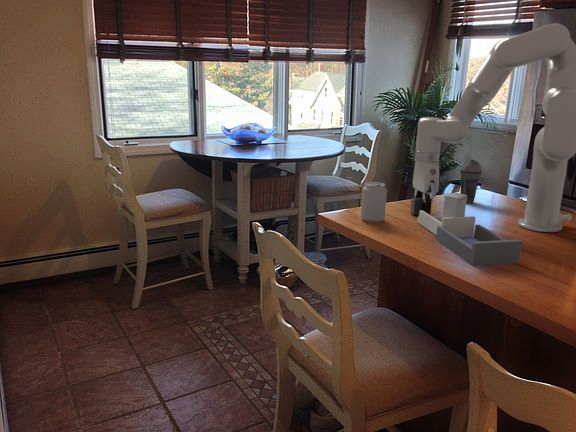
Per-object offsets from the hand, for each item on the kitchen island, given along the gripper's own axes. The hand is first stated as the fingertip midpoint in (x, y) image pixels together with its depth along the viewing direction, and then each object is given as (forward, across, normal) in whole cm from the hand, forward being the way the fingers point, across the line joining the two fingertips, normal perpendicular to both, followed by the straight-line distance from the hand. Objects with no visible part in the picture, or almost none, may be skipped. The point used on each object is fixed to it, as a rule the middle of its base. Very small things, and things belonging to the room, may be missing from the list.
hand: (421, 210), depth 175 cm
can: (+2, -2, +18) cm, 18 cm away
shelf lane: (+2, -34, 0) cm, 34 cm away
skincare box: (+2, -19, 0) cm, 19 cm away
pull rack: (+1, -11, 0) cm, 11 cm away
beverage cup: (+2, +14, -24) cm, 28 cm away
